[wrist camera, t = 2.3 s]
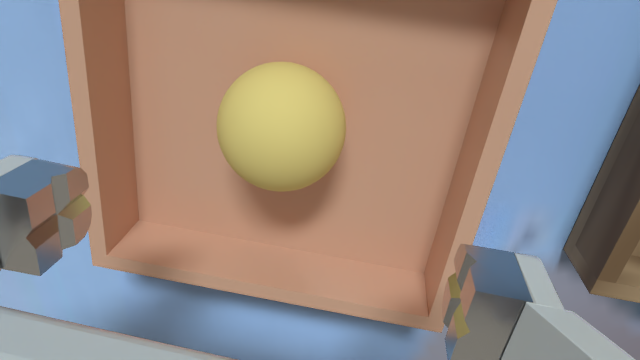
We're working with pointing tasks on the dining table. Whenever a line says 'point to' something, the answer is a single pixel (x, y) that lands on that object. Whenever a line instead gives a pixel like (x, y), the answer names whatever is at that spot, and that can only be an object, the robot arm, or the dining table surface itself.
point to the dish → (342, 179)
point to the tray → (612, 219)
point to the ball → (281, 126)
